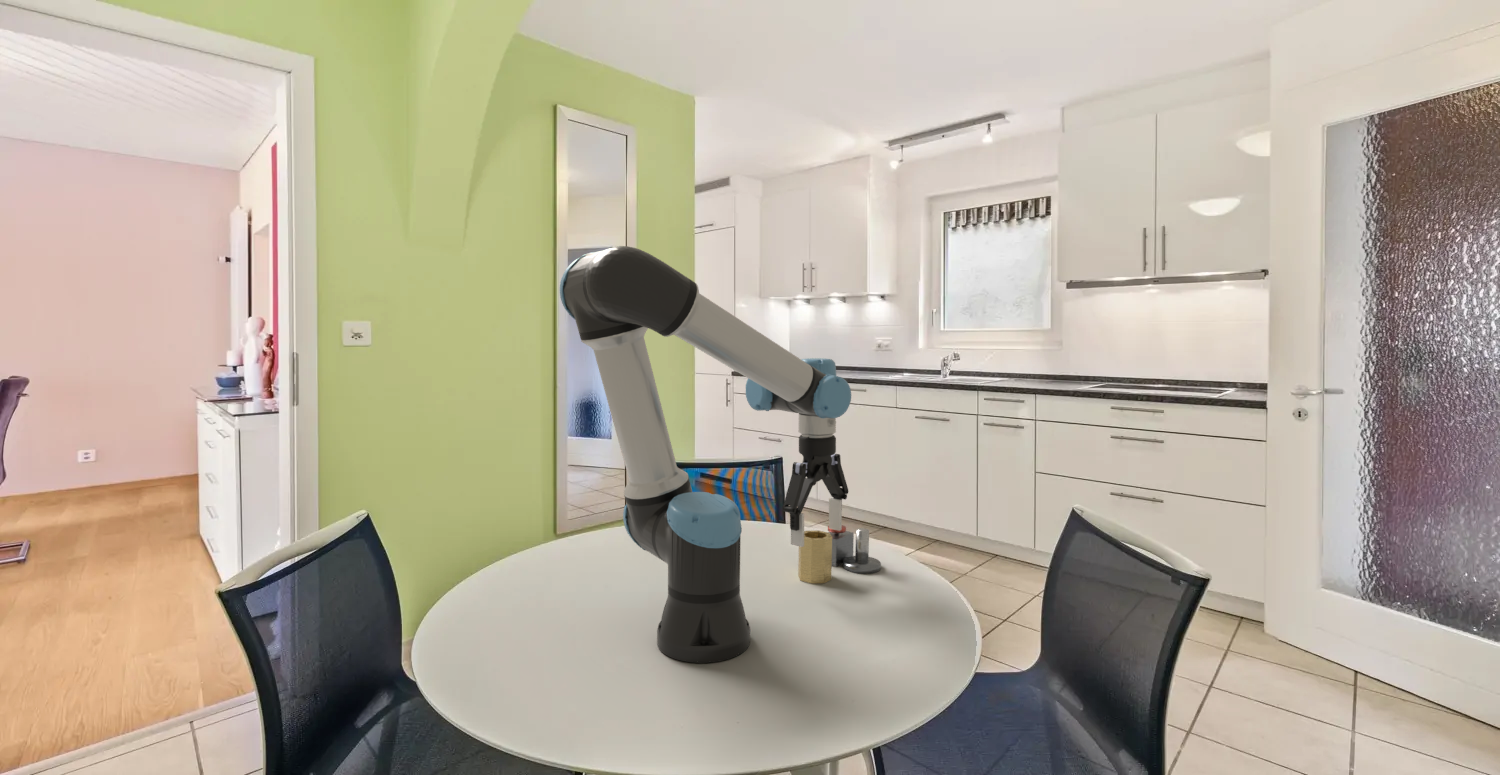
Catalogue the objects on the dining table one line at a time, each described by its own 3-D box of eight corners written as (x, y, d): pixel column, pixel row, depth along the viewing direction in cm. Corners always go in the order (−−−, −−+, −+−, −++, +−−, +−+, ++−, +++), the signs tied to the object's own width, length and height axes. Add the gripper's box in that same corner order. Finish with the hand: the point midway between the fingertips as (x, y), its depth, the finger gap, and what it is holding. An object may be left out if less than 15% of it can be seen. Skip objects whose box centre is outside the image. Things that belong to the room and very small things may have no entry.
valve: (868, 576, 141) (869, 537, 141) (817, 562, 150) (818, 526, 149) (887, 566, 148) (888, 529, 147) (837, 554, 156) (838, 518, 155)
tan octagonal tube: (818, 585, 136) (819, 541, 135) (792, 578, 140) (793, 535, 139) (836, 577, 141) (837, 534, 140) (810, 570, 145) (811, 528, 144)
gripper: (795, 445, 126) (795, 556, 128) (865, 429, 145) (864, 526, 147) (764, 440, 131) (764, 548, 133) (835, 425, 150) (834, 520, 152)
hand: (817, 537), depth 140 cm, fingers open, 13 cm apart
